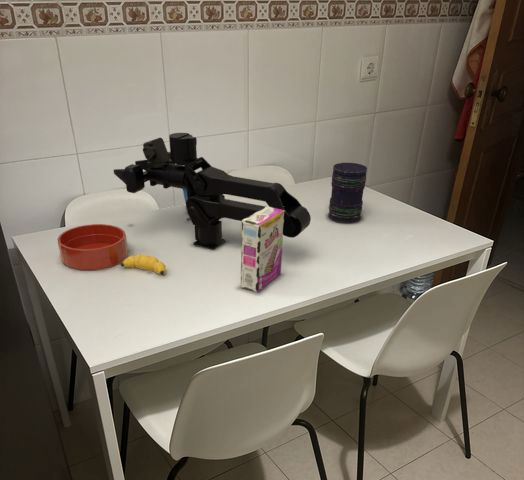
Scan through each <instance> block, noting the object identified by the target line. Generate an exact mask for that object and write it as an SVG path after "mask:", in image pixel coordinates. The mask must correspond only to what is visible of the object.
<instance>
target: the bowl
mask: <svg viewBox="0 0 524 480" xmlns="http://www.w3.org/2000/svg"><path fill="white" fill-rule="evenodd" d="M57 246H58V250H59V255H60V259H61V262H62V263H63V264H64V265H66V266H67V267H69V269H73V270H77V271H88V272H89V271H90V272H91V271H100V270H106V269H110V268H113V267H115V266H118V265H120V264H121V263H122V262H123V260H125V259H127V258H128V253H129V248H128V247H129V246H128V240H127V234H126V232H125V230H124V229H123V228H121V227H120V226H116V225H112V224H104V223H91V224H83V225H79V226H78V225H77V226H75V227H71V228H69V229H67V230H64V231H63V232H61V233H60V234H59V235H58V237H57Z"/></svg>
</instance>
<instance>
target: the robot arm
mask: <svg viewBox="0 0 524 480" xmlns="http://www.w3.org/2000/svg"><path fill="white" fill-rule="evenodd" d="M168 138H169V151H168V149H167V147H166V146H167V145H166V143H165V141H164V139H163V138H162V137H157V138H155V139H152V140H149V141H146V142H143V143H142V147H143V148H142V152H143V156H144V158H145V159H141V160H135V161H134V163H132V164H129V165H127V166H125V167H124V168H115V169H113V174H114V175H115V177H117V178H118V179H119V180H120V181H122V182H123V183H124V184H125V186H126V192H127V193H131V194H136V193H138V192H140V191H142V190H144V188H146V186H145V183H147V182H149V186H150V187H156V186H157V185H158V186H162V187H163V189H165V190H167V189H170V188H176V189H182V190H183V189H186V190H187V198H188V199H187V201H186V203H185V208H186V211H188V212H187V214H188V213H189V215H188V216H189V217H190V218H191V219H190V222H191V224H192V226H194V227H193V228H194V240H195V241H194V242H193V243H192V244H193V246H196V247H201V248H205V249H210V250H216V249H217V248H219V247H220V246H221V245H222V244H224V243H225V242H226V238H223V221H222V219H229V220H234V221H239V222H242V220H243V219H245V218H247V217H249V216H250V215H252V214H254V213H256V212H258V211H260V210H261V209H263V208H265V207H267V206H269V207H273V208H278V209H281V210H284V227H283V237H287V238H290V239H291V238H292V239H293V238H297V236H299V235H300V234H301V233H302V232H303V231H305V229H307V228H308V227H309V226H310V224H311V220H312V218H311V215H310V214H311V213H310V212H309V211H308V209H307V207H305V206H303V205H302V204H301V203H300V201H299V200H298V199H297V198H296V197H294V196H293V195H292V194H291V193H289V192H288V191H287V190H286V188H285V187H284V185H282V184H281V183H280V182H268V181H264V180H257V179H252V178H245V177H240V176H239V177H238V176H234V175H231V174H228V173H227V172H225V170H222V169H219V168H217V167H214V166H213V165H211V164H210V163H209V162H208V161H207V160H206V159H205V157H203V156H199V157H198V153H197V143H198V140H197V137H196V136H193V134H190V133H189V132H174V133H170V134H169V135H168ZM199 169H201V170H199ZM197 170H199V171H197ZM196 171H197V172H196ZM221 194H223V195H227V196H233V197H240V198H245V199H250V200H255V201H260V202H265V203H266V204H267V205H261V204H256V203H255V204H254V203H249V202H244V201H237V200H234V199H233V200H232V199H227V198H225V199H224V198H223V197H222V196H221Z"/></svg>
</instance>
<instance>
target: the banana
mask: <svg viewBox="0 0 524 480" xmlns="http://www.w3.org/2000/svg"><path fill="white" fill-rule="evenodd" d="M119 266H120V267H122V268H123V267H124V268H131V269H132V268H138V269H140V270H145V271H150V272H154V271H155V273H157V274H158V275H164V274H165V273H166V271H167V270H166V269H167V266H166V264H165V263H164V262H163V261H159V258H158V257H155V256H151V255H147V254H136V255H135V256H133V255H129V256H127V257H126V258H125V260H123V262H121V263H120V264H119Z"/></svg>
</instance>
